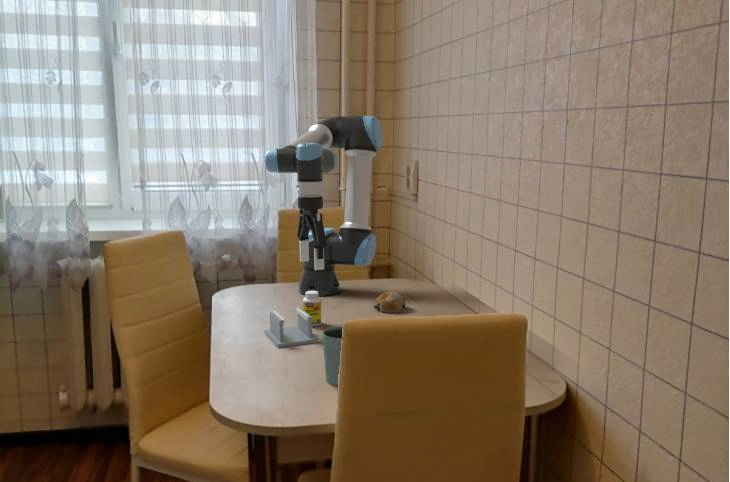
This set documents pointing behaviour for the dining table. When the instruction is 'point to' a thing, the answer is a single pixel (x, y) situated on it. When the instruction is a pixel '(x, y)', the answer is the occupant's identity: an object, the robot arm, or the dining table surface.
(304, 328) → the clip cradle
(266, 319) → the dining table surface
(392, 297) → the brown domed lump
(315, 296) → the supplement bottle
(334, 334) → the grey-green cup
